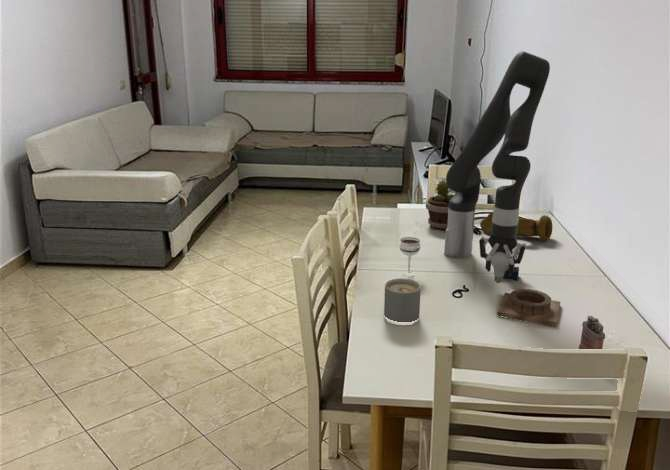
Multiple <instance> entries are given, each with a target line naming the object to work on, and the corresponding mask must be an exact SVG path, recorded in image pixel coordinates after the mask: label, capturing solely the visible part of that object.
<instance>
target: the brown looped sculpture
mask: <svg viewBox="0 0 670 470" xmlns="http://www.w3.org/2000/svg"><path fill="white" fill-rule="evenodd" d="M492 217H493V211H491V212H489V213H488V215H487V216H486V217H485V218H484V219H482V220H481V221H480V223H479V226H480V227H481V232H482V233H483V234H484V235H485V236H487V237H488V236H489V237H490V235H491V226H492ZM552 234H553V221H552V218H551V217H549V216H548V215H546V214H545V215H541V216H540V217H539V219H537V220H535V219H532V218H527V217H526V218H525V217H524V218H523V217H519V221H518V227H517V235H516V237H539V240H541V241H543V242H546V241H548V240H550V239H551V236H552Z"/></svg>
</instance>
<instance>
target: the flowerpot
mask: <svg viewBox="0 0 670 470" xmlns="http://www.w3.org/2000/svg"><path fill="white" fill-rule="evenodd" d="M435 191H436V193H435V195H434V196H429V198H428V199H427V200H426V202H425V208H426V210H427V211H428V212H427V213H428V218H427V219H428V220H427V221H428V224H429V226H430V228H431V229H435V230H437V231H446V229H447V225H448V210H449V201H450V199H451V198H452V197H453V196H454V195H455V193H453V192H451V190H450V189H449V188H448V186H447V183H446V179H444V178H443V176H442V179H441V180H438V183H435Z"/></svg>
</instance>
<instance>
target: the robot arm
mask: <svg viewBox="0 0 670 470" xmlns="http://www.w3.org/2000/svg"><path fill="white" fill-rule="evenodd" d="M550 68H551V65H550V62H549V61H548V60H546V59H545V58H543V57H540V56H537V55H534V54H532V53H529V52H527V51H519V52H517V53H516V54H515V56H514V57H513V58H512V60H511V61H510V64H509V65H508V67H507V70H506V71H505V74H504V76H503V77H502V79H501V82H500V84H499V86H498V88H497V90H496V91H495V94H494V96H493V97H492V100H490V103H489V105H487V107H486V110H485V111H484V112H483V114H482V115H481V118H480V119H479V121H478V122H477V124H476V126H475V128H474V130H473V131H472V134H471V135H470V137H469V138H468V140H467V142H466V144H465V146H464V147H463V149H462V151H461V152H460V154H459V155H458V157H456V159H455V160H454V162H453V163H452V164H451V166H450V168H449V169H448V170H447V173H446V177H445V182H446V183H447V186H448V188H449V189H448V190H449V191H451V192H454V196H453V197H452V198H451V199H450V201H449V210H448V225H447V229H446V230H445V234H444V250H443V251H444V253H443V254H444V255H445V256H448V257H451V258H454V259H466V258H469V257H471V256H472V254H473V241H474V230H475V229H474V225H475V216H476V205H477V203H478V201H479V197H480V189H481V181H482V176H481V170H480V168H479V167H478V166H479V164H480V162H481V161H482V160H484V158H485V157H487V156H488V155H489V154H490V153H491V152H492V151H493V150H494V149H495V148H496V147H497V146H498V145H499V143H500V142H501V141H502V139H503V138H504V139H503V142H502V144H501V145H500V149H499V150H498V152H497V154H496V156H495V158H494V159H493V162H492V164H491V172H492V173H491V174H492V175H493V176H494V177H495V178H497V179H503V180H509V181H510V180H511V181H515V182H514V183H513V184H509V185H502V186H499V187H497V189H496V191H495V199H494V205H493V206H494V207H493V211H492V212H493V217H492V226H491V235H490V236H489V237H484V236H482V237H481V238H480V239H479V241H478V242H479V243H478V244H479V253H480V258H481V259H484V260H485V267H484V268H485V270H486V272H488V273H489V272H491V269H492V264H491V260H490V259H491V257H492V256H493V254H494V253H495V252H503V253H505V254H507V257H508V258H509V261H510V264H509V270H508V275H511V274H513V272H514V267H516V266H515V265H516V264H517V265H520V264H521V262H522V260H523V257H524V254H525V251H526V248H527V244H526V243H520V242H518V240H517V236H516V235H517V227H518V221H519V218H520V217H519V216H520V211H519V209H520V201H521V195H522V194H521V193H522V190H523V187H524V185H525V183H526V180H527V178H528V176H529V174H530V171H531V162H530V160H529V158H528V157H526V156H522V155H514V154H513V153H518V152H523V151H526V149H527V148H528V146H529V144H530V143H529V142H530V137H531V133H532V127H533V123H534V119H535V115H536V112H537V110H538V107H539V104H540V101H541V99H542V96H543V93H544V90H545V87H546V85H547V81H548V78H549V76H550V75H549V74H550V70H551V69H550ZM516 84H517V85H520V86H523V87H526V88H527V89H529V94H528V96H527V98H526V99H525V101H524V102H523V103H522V104H521V105H520V106H518V107H517V108H516V110H514V111H513V113H512V114H511V94H512V92H513V89H514V88H515V85H516ZM488 243H489V245H490V247H491V250H490V251H489V253H487V252H486V251H487V250H486V245H487V244H488ZM516 246H517V247H518V251H520V252H519V255H518V256H517V258H515V257H514V253H513V249H514V248H515V247H516Z"/></svg>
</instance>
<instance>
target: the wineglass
mask: <svg viewBox="0 0 670 470" xmlns="http://www.w3.org/2000/svg"><path fill="white" fill-rule="evenodd" d="M399 241H400V244H399V250H400V252H401V253H402V254H403V255H405V256H407V263H408V264H407V265H408V267H407V269H408V270H407V271H408V273H411V272H412V271H410V267H411V258H412V257H413V256H415V255H417V254H418V253H419V251H420V249H421V244H420V243H421V239H419V238H417V237H413V236H404V237H402V238H400V239H399ZM409 271H410V272H409Z"/></svg>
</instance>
